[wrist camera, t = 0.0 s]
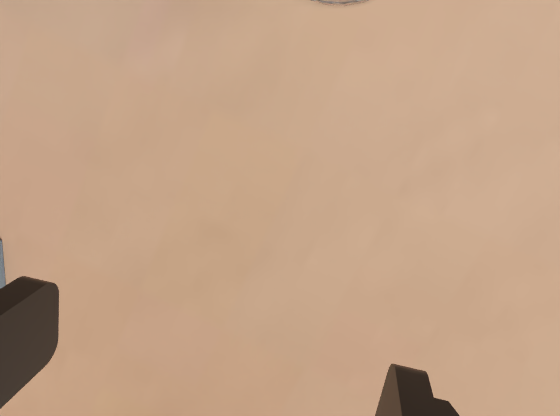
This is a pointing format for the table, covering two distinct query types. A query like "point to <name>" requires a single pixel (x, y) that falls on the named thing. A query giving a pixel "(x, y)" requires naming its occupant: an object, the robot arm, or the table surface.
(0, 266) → the slate mat
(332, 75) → the table surface
